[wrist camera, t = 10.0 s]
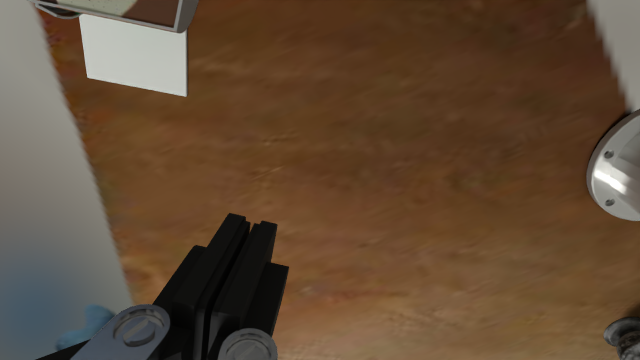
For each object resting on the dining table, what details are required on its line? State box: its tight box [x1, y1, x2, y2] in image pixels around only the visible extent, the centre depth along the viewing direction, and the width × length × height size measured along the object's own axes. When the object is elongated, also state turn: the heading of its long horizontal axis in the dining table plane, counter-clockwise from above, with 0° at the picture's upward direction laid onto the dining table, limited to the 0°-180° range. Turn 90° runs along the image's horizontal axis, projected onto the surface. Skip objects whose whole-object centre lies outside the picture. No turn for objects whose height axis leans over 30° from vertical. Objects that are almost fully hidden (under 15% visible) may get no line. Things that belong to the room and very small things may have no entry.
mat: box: [79, 14, 187, 96], centre depth 32 cm, size 10×11×1 cm
